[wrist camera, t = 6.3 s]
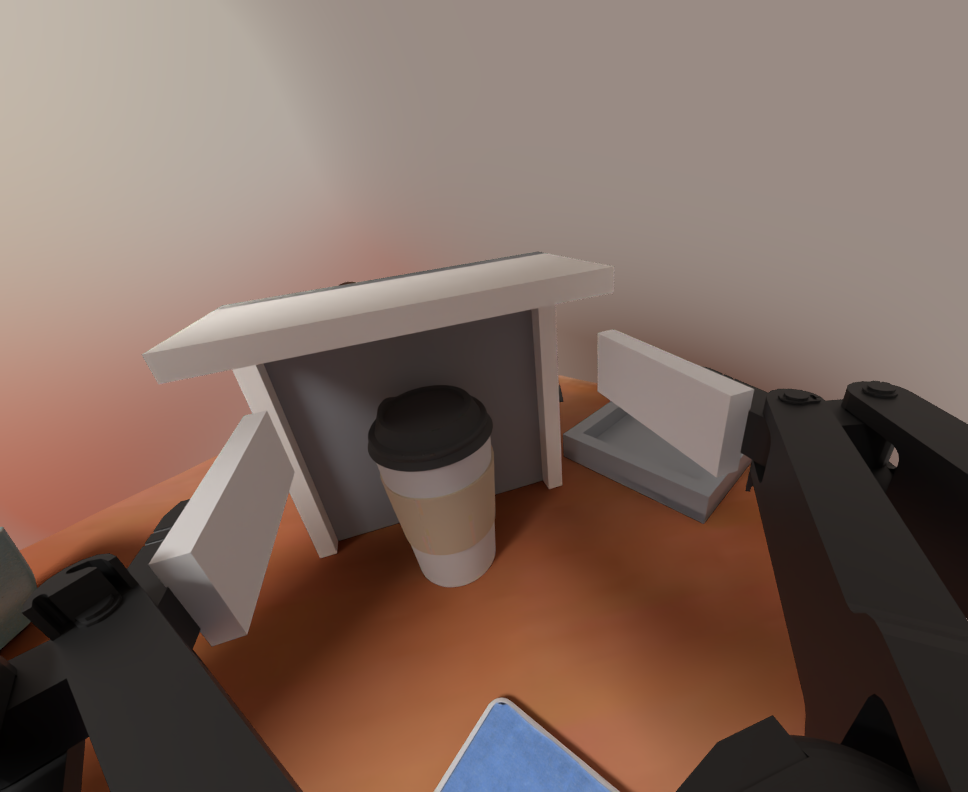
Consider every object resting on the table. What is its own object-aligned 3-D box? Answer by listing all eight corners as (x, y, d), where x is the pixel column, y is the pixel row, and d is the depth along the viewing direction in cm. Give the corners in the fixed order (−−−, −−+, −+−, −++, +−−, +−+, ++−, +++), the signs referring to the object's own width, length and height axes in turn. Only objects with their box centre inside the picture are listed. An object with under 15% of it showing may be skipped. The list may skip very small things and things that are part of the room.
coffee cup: (510, 512, 36) (493, 369, 30) (506, 600, 28) (482, 433, 22) (420, 514, 38) (383, 378, 31) (392, 599, 30) (334, 441, 23)
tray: (703, 523, 32) (708, 497, 31) (563, 456, 43) (562, 434, 42) (764, 444, 40) (770, 420, 39) (634, 404, 51) (635, 384, 50)
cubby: (308, 645, 27) (141, 354, 17) (323, 534, 37) (222, 305, 27) (605, 543, 32) (614, 266, 22) (550, 468, 41) (538, 251, 31)
